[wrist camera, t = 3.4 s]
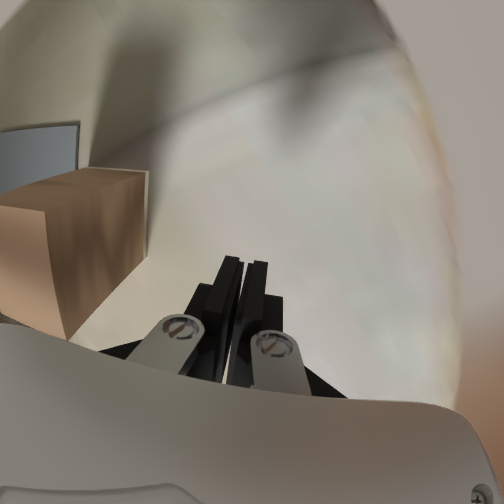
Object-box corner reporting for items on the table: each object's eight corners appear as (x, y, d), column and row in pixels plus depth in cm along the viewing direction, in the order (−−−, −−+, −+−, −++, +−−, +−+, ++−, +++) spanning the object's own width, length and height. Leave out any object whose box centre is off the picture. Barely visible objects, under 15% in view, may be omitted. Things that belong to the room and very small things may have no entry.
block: (146, 256, 20) (66, 341, 11) (89, 245, 20) (1, 313, 11) (149, 171, 18) (44, 211, 9) (88, 166, 18) (-22, 202, 9)
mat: (83, 277, 22) (81, 279, 21) (9, 256, 22) (8, 258, 22) (79, 125, 17) (77, 125, 17) (1, 132, 17) (-1, 132, 17)
